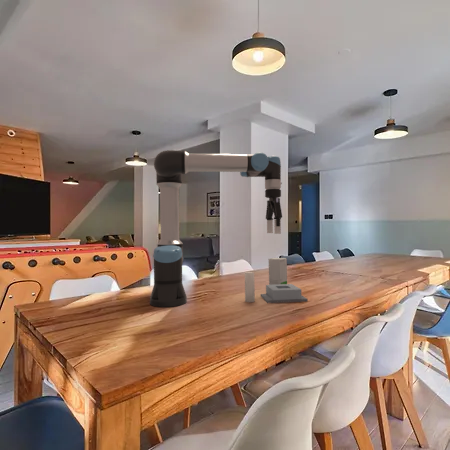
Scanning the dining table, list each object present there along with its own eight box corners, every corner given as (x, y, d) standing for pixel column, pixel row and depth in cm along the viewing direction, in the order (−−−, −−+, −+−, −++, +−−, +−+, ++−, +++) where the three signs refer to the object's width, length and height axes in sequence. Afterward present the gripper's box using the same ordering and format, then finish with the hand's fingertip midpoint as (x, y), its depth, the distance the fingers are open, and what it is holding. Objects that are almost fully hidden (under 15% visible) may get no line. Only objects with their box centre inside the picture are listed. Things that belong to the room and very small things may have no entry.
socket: (267, 303, 124) (267, 290, 124) (260, 296, 136) (260, 284, 136) (307, 301, 126) (307, 289, 126) (297, 294, 138) (296, 283, 138)
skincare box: (280, 292, 144) (279, 259, 144) (267, 290, 148) (267, 258, 148) (287, 289, 151) (287, 257, 151) (276, 287, 155) (275, 257, 155)
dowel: (246, 302, 125) (245, 273, 125) (244, 300, 129) (244, 272, 129) (255, 302, 126) (255, 273, 126) (253, 299, 130) (253, 271, 130)
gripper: (288, 185, 133) (289, 233, 133) (273, 192, 158) (274, 232, 158) (272, 185, 133) (272, 234, 133) (259, 192, 157) (260, 233, 157)
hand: (273, 233), depth 145 cm, fingers open, 13 cm apart
